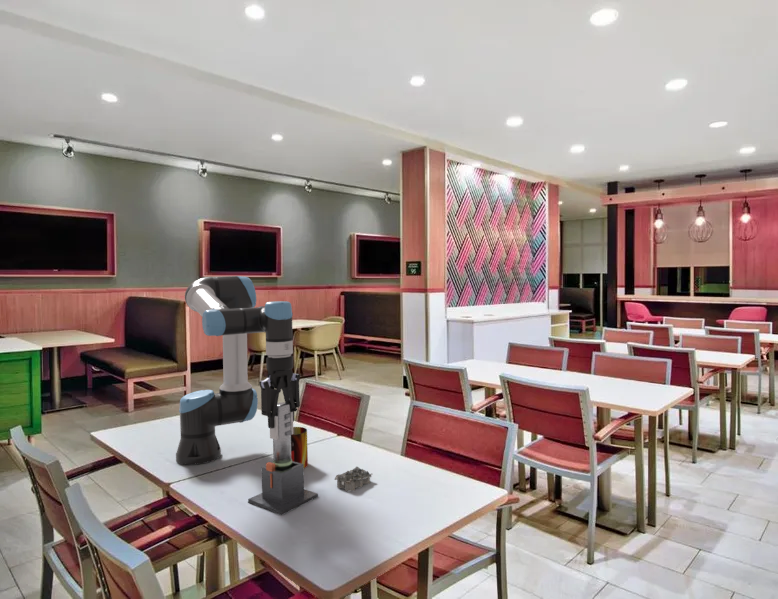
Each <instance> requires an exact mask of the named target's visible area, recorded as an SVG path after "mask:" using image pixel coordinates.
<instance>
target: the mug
mask: <svg viewBox="0 0 778 599" xmlns="http://www.w3.org/2000/svg"><path fill="white" fill-rule="evenodd" d="M308 458H309V457H308V430H307V428H306V427H303V426H293V434H292V435H291V459H292V461H294V462H298V463H301V464H304V469H305V468H307V467H308V466H309V460H308Z"/></svg>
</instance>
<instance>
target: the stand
mask: <svg viewBox="0 0 778 599" xmlns="http://www.w3.org/2000/svg"><path fill="white" fill-rule="evenodd" d="M304 470H305V468H304V464H301V463H298V462H294V461H292V466H291V468H289V469H287V470H284V471H279V470H275V463H273V462H271V461H269V462H266V463H265V465H263V466H261V493H259V494H257V495H254V496H252V497H250V498H248V499H247V500H248V503H249V504H251V505H253V506H256V507H259V508H261V509H265V510H267V511H270V512H272V513H274V514H277V515H280V516H282V515H285V514H287V513H288V512H291V511H294V510H296V509H297V508H299V507H301V506H303V505H305V504H307V503H309V502H310V501H313V500H316V499H317V498H318V497H319V493H318V492H314V491H311V490H308V489H305V472H304Z"/></svg>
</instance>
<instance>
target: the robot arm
mask: <svg viewBox="0 0 778 599" xmlns="http://www.w3.org/2000/svg"><path fill="white" fill-rule="evenodd" d="M184 302H185V303H186V305H187V306H188V307H189V309H190V310H192V311H194V312H196V313H198V314H199V315H200V317H202V318H201V324H202V330H203V333H204V334H205V335H206V336H209V337H210V336H211V337H212V336H213V337H219V336H220V337H221V336H222V365H223V366H222V367H223V374H222V375H223V380H222V381H223V383H222V384H221V385H220V386H219V388H218V389H219V390H218V391H219V392H217V393H215V392H214V390H213V389H201V390H196V391H192V392H190V393H187V394H185V395H183V396H182V397H181V398H180V400H179V410H178V412H179V423H180V424H179V426H180V429H179V430H180V440H179V442H178V447H177V450H176V453H175V461H176V462H177V463H178V464H181V465H185V466H186V465H188V466H190V465H191V466H192V465H193V466H194V465H200V464H207V463H211V462H213V461H215V460H218V459H219V458H220V457H221V456H222V448H221V445H220V443H219V440H218V438H217V434H216V427H218V426H225V425H230V424H231V425H232V424H237V423H239V424H240V423H244V422H248V421H251V420H253V418H255V416H256V413H257V411H258V403H259V402H258V401H259V400H258V393H257V390H256V389H255V388H253V384H251V383H250V382H249V379H248V375H249V374H248V334H257V333H260V334H261V333H265V355H266V356H267V357H266V358H265V361H266V370H267V372H268V373H267V376H266V378H265V379H264V380H259V387H260V395H261V396H260V399H261V400H260V401H261V404H260V406H261V408H260V409H261V410H260V412H261V416H266V417H267V427H268V428H269V438H270V439H271V440H273V439H275V440H278V439H279V437H278V416H275V415H276V409H277V403H279V396H280V393H281V391H282V394H283V400H284V402H285V403H290V413H291V417H290V422H292V426H290V429H291V431H292V434H293V427H294V422H295V413H296V412H298V408H299V407H300V405H301V404H300V379H301V374H299V373H294V372H293V368H294V356H293V354H294V350H293V349H294V348H293V347H294V345H293V343H294V342H293V340H294V339H293V336H294V335H293V307H292V303H291V302H290V301H286V300H284V301H280V300H276V301H275V300H274V301H267V302H265V304H264V306H261V305H260V306H259V307H256V305H257V293H256V288H255V285H254V283H253V281H252V279H250V278H249V277H248V276H240V275H239V276H238V275H233V276H229V275H228V276H205V277H201V278H199V279H196V280H194V281H193V282H191V283H190V284H189V285H188V287H187V288H186V290H185V293H184ZM292 434H291V435H292Z"/></svg>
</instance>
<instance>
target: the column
mask: <svg viewBox="0 0 778 599" xmlns="http://www.w3.org/2000/svg"><path fill="white" fill-rule="evenodd" d="M275 416H278V437H279V439H278V440H275V439H272V445H273V446H272V449H273V452H272V454H273V460H272V463H275V470H279V471H284V470H287V469H289V468H291V466H292V459H291V434H292V431H291V429H290V426H292V422H290V417H291V413H290V403H285V401H284V402H283V401H282V402H278V403H277V409H276V415H275Z"/></svg>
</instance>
